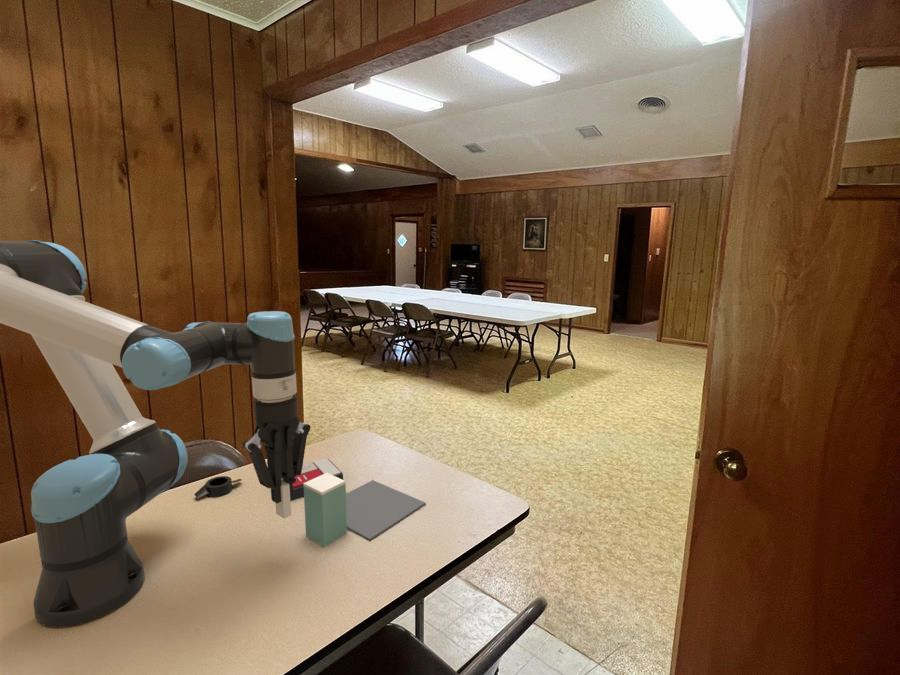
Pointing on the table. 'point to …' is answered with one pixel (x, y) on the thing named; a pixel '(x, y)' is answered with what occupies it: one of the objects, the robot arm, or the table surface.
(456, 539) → the table surface
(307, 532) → the block
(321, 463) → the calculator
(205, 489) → the black ring with arms
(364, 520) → the mat
